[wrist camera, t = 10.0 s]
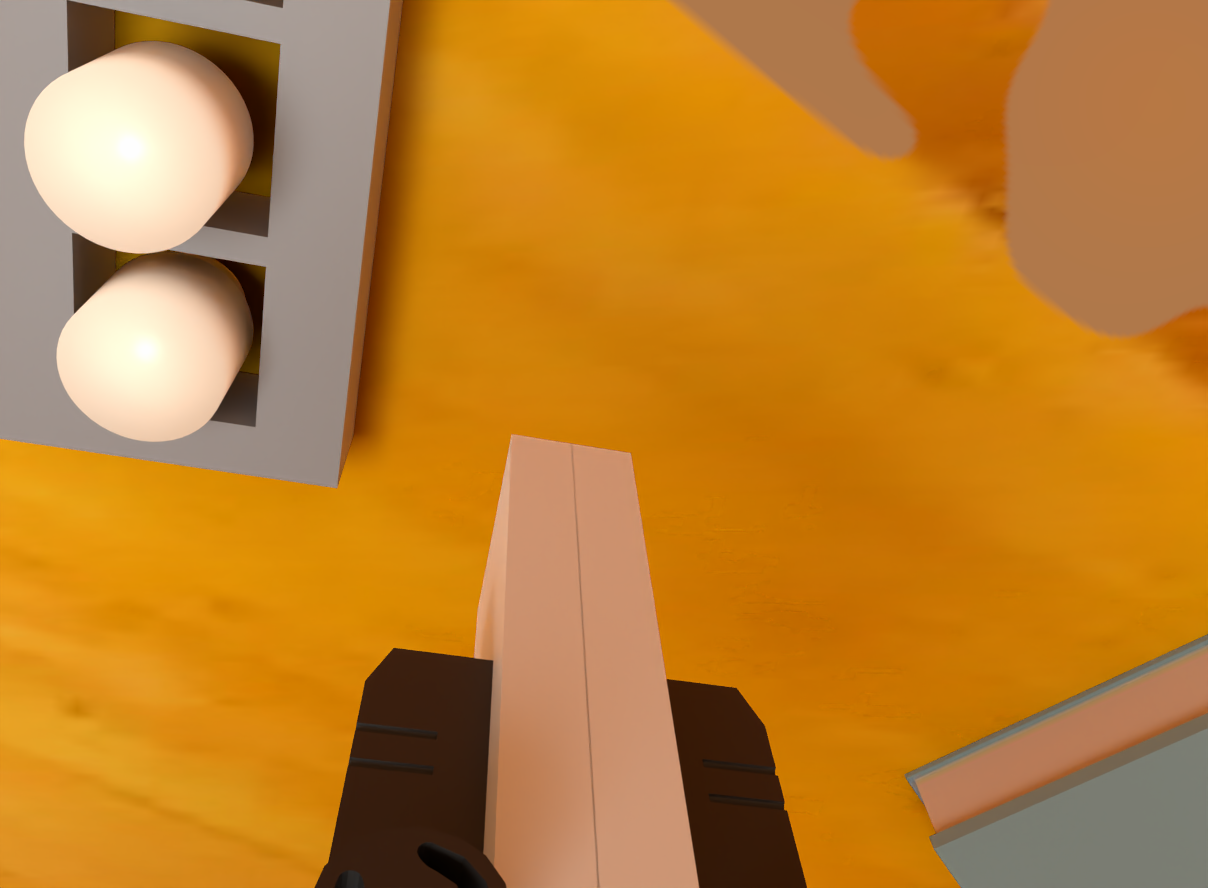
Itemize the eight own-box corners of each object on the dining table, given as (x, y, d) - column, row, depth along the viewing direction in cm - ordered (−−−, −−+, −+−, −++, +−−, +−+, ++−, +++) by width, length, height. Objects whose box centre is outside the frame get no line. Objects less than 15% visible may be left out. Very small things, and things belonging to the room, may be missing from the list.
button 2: (122, 351, 39) (58, 428, 34) (122, 220, 37) (53, 281, 32) (261, 373, 40) (220, 452, 35) (270, 247, 38) (227, 311, 33)
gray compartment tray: (33, 385, 41) (-14, 436, 37) (-1, -386, 30) (-73, -417, 26) (353, 435, 43) (336, 488, 39) (434, -275, 31) (421, -290, 28)
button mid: (104, 176, 35) (28, 235, 29) (103, 14, 32) (19, 47, 27) (263, 206, 35) (215, 268, 30) (272, 49, 33) (223, 87, 28)
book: (1352, 559, 49) (1432, 628, 45) (1421, 768, 56) (1496, 846, 52) (901, 767, 54) (934, 849, 50) (1017, 936, 61) (1054, 1020, 57)
